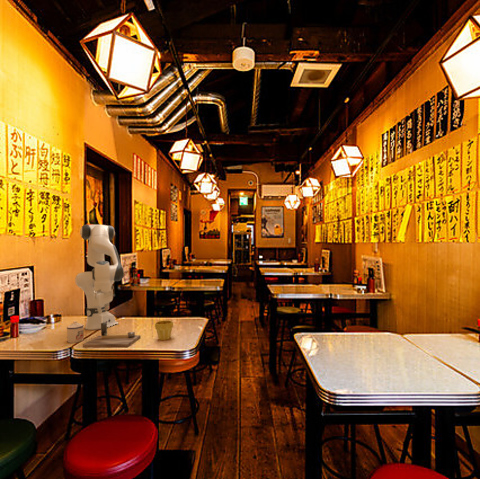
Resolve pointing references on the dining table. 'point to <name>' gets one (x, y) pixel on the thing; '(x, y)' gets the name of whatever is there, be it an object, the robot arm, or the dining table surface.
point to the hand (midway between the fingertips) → (103, 311)
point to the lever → (105, 335)
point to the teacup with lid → (75, 332)
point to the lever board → (111, 342)
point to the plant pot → (164, 329)
